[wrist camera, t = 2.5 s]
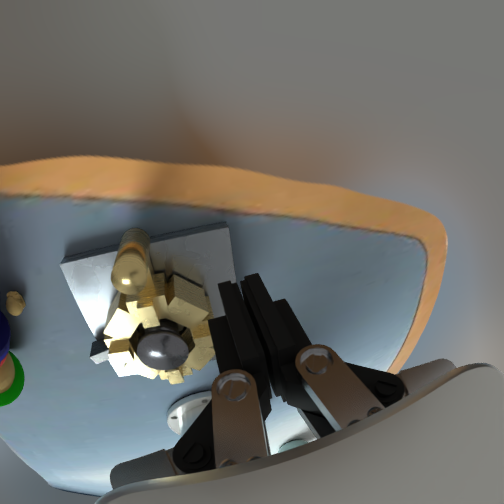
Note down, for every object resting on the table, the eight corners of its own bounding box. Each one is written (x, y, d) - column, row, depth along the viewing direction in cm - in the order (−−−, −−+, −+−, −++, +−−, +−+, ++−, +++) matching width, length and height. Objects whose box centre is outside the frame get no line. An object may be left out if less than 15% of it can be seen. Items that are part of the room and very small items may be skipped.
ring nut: (219, 343, 26) (230, 384, 22) (131, 360, 25) (130, 401, 20) (192, 215, 20) (199, 246, 16) (77, 241, 18) (57, 277, 14)
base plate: (243, 344, 29) (258, 384, 25) (115, 368, 27) (112, 410, 22) (225, 221, 23) (242, 254, 18) (58, 258, 20) (36, 298, 15)
